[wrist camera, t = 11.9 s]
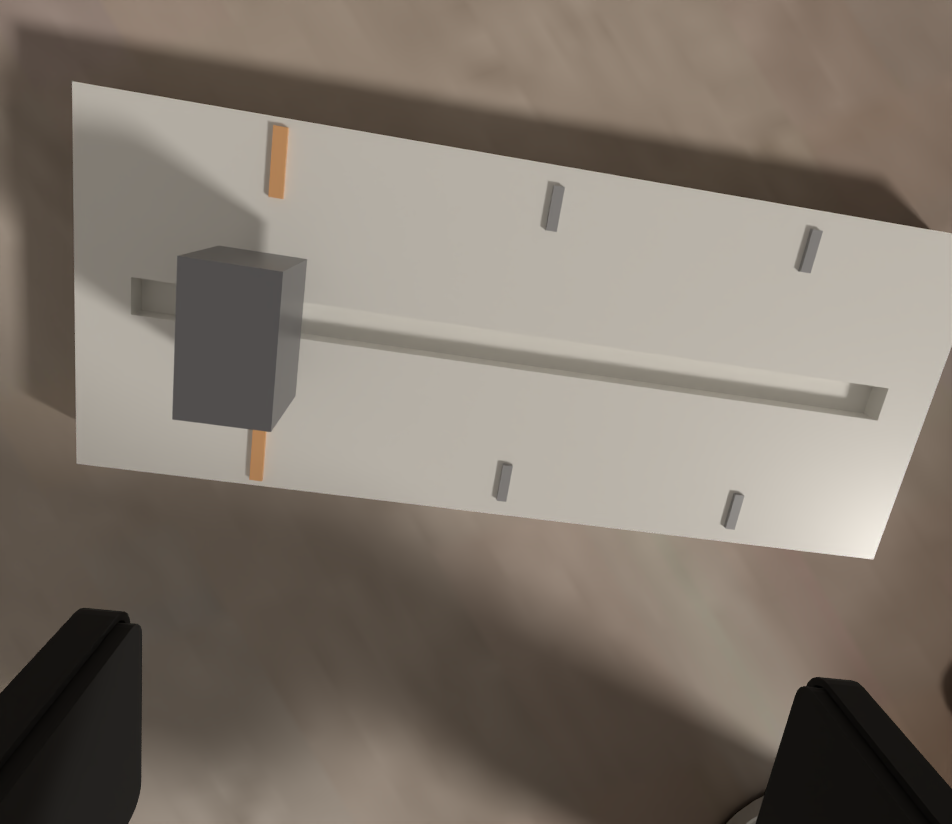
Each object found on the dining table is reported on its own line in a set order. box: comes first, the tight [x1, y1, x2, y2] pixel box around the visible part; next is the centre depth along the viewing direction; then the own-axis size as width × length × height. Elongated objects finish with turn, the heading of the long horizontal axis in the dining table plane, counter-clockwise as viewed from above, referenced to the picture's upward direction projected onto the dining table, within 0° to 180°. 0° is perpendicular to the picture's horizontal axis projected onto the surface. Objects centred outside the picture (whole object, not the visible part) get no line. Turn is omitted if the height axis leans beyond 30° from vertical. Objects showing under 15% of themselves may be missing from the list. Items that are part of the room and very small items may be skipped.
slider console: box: [72, 81, 952, 559], centre depth 28 cm, size 14×34×3 cm, turn 81°
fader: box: [172, 246, 307, 432], centre depth 24 cm, size 5×3×6 cm, turn 171°
